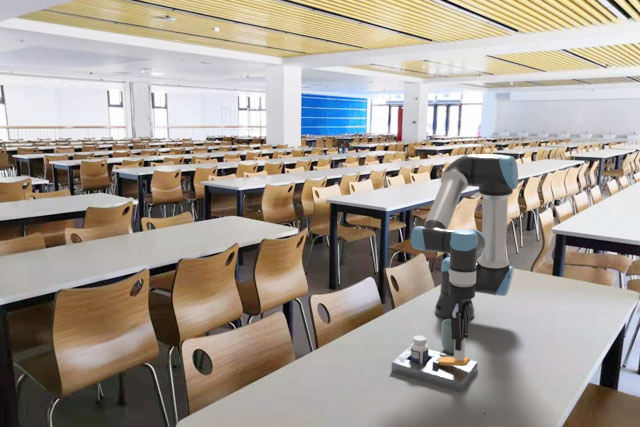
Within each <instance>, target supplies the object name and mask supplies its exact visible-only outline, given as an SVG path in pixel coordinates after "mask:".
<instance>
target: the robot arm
mask: <svg viewBox="0 0 640 427" xmlns="http://www.w3.org/2000/svg"><path fill="white" fill-rule="evenodd" d="M518 171H519V170H518V164H517V161H516V158H515V157H514V156H512V155H504V154H476V153H475V154H473V153H471V154H466V155H463V156H461V157H458V158H456V159H455V160H454V161H452V162H451V163H450V164H449V165H448V166H447V167H446V169H445V170H444V171H443V173H442V174H441V177H440V184H441V185H440V186H439V189H438V192H437V194H436V196H435V198H434V200H433V203H432V205H431V207H430V210H429V211H428V214H427V216H426V219H425V221H424V224H423V225H417V226H414V227H413V229H412V230H411V235H410V243H411V247H412V248H413V249H415V250H418V251H424V252H432V253H433V252H435V253H443V254H449V256H448V257H445V258H444V259H442V262H441V268H440V271H441V272H440V273H441V274H440V275H441V276H440V293H439V296H438V299H437V301H436V304H435V309H434V312H435V314H436V315H437V316H438V317H441V318H442V319H445V320H446V319H451V330H452V337H451V338H452V339H455V340H454V354H453V356H454V359H457V360H461V361H463V360H464V357H465V352H466V351H465V350H466V348H465V347H466V339H469V335H468V333H469V325H470V318H471V319H472V318H474V316H475V307H474V304H473V300H472V299H474V298H475V296H476V293H481V294H484V295H485V294H486V295H491V296H500V297H501V296H502V297H505V296H507V295H508V293H509V290H510V287H511V284H512V280H513V277H514V276H513V275H514V266H512V265H510V260H509V258H507V256H506V251H507V248H506V247H507V226H508V225H507V224H508V208H509V206H508V203H509V197H510V196H511V195H512V194H513V191H514V190H516V189H517V188H518V184H519V172H518ZM467 187H476V188H478V193H479V194H480V196H482V220H481V221H482V223H481V226H482V227H481V230H477V229H448V228H449V225H450V223H451V221H452V218H453V216H454V213H455V210H456V208H457V205H458V203H459V201H460V198H461V196H462V193H463V192H464V191H465V190H466V189H467ZM480 254H481V255H480ZM479 255H480V256H479ZM478 256H479V257H478ZM465 338H466V339H465Z"/></svg>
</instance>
